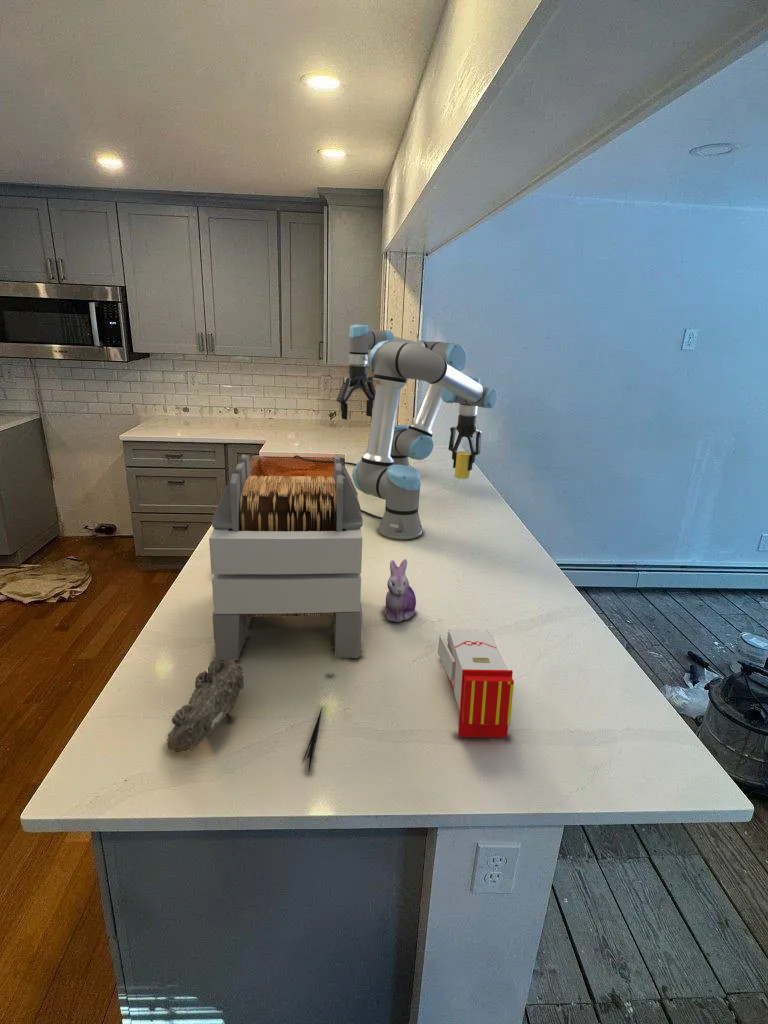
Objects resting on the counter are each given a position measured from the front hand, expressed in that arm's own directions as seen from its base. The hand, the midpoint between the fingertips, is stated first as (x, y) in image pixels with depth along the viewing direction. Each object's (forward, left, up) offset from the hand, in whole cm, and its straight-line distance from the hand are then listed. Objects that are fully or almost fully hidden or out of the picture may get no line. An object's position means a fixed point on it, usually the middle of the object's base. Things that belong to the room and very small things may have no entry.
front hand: (462, 468), depth 243 cm
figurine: (+61, -90, -12) cm, 109 cm away
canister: (0, 0, -4) cm, 4 cm away
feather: (+81, -129, -12) cm, 153 cm away
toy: (+93, -100, -12) cm, 137 cm away
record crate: (+47, -115, -12) cm, 125 cm away
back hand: (-30, -35, +20) cm, 50 cm away
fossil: (+68, -145, -12) cm, 161 cm away
